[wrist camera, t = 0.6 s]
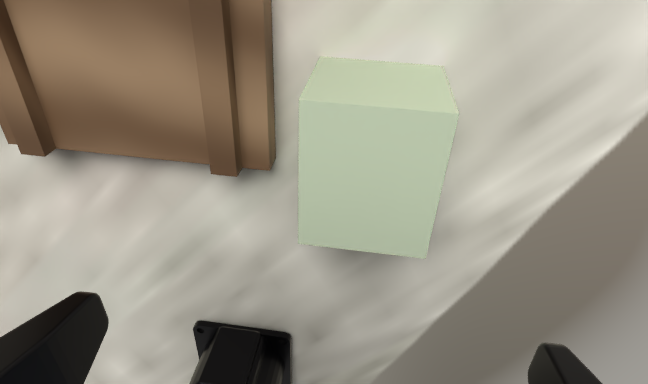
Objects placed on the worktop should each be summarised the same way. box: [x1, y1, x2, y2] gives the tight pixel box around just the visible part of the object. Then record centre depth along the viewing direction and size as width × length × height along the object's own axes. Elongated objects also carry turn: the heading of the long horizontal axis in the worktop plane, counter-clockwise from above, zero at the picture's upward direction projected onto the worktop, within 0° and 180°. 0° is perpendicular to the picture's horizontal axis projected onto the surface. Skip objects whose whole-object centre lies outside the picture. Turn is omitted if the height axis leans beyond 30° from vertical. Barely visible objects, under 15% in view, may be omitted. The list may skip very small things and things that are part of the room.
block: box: [298, 57, 459, 259], centre depth 17 cm, size 6×5×5 cm
